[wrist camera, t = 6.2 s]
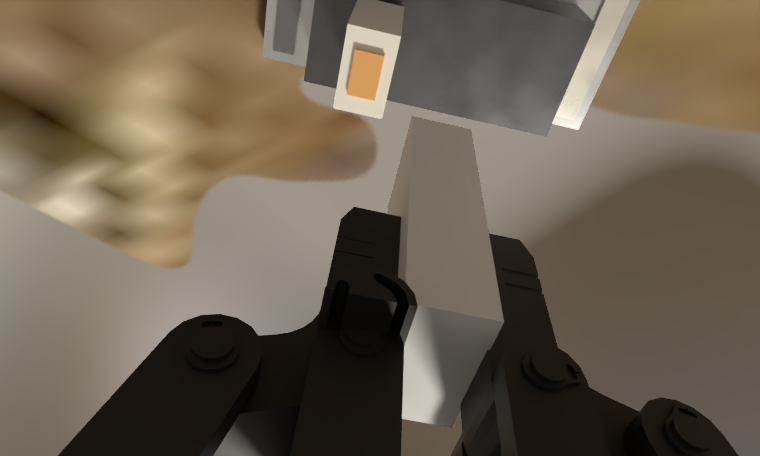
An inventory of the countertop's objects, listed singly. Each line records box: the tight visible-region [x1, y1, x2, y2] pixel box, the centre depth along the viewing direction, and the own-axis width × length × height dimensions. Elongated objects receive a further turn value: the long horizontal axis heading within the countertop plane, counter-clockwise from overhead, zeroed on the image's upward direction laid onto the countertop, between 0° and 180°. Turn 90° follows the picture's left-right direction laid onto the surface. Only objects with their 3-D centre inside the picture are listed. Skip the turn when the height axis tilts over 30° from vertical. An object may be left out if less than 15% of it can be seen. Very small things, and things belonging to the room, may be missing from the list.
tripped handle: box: [333, 0, 404, 119], centre depth 20 cm, size 3×2×4 cm, turn 168°
